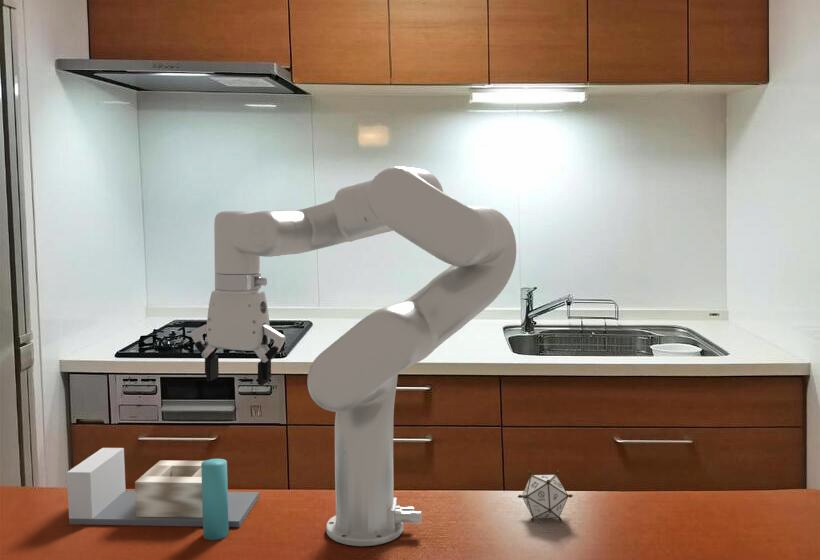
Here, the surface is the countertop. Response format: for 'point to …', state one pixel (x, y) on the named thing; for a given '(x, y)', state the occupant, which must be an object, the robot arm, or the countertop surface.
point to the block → (170, 490)
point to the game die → (545, 496)
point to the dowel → (215, 499)
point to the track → (127, 496)
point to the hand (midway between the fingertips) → (237, 381)
